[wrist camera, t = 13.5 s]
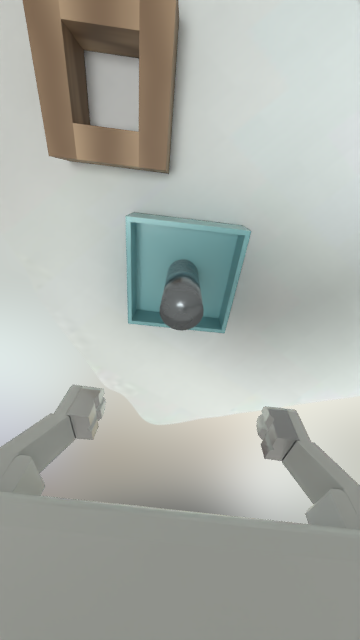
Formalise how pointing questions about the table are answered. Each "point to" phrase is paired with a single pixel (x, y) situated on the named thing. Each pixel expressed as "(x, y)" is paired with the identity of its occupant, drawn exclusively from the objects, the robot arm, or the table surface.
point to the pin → (182, 296)
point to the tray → (175, 244)
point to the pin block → (70, 78)
